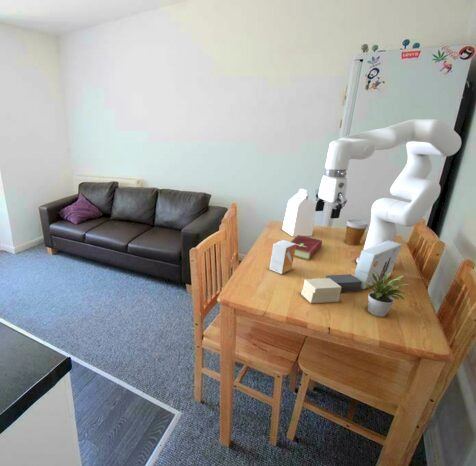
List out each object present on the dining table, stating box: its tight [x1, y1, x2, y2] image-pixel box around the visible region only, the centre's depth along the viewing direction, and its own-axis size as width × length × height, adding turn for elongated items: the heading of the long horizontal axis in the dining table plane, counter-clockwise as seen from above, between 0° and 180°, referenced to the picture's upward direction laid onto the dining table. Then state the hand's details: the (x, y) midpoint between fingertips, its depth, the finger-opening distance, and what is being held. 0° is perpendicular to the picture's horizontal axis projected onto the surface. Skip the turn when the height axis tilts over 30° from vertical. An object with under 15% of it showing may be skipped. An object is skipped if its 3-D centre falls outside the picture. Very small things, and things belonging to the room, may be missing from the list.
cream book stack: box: [300, 284, 341, 304], centre depth 120 cm, size 11×6×4 cm, turn 93°
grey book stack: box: [324, 273, 362, 293], centre depth 126 cm, size 11×6×4 cm, turn 93°
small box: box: [269, 239, 296, 275], centre depth 141 cm, size 8×6×13 cm
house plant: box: [359, 270, 410, 317], centre depth 108 cm, size 14×14×16 cm
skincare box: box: [353, 240, 403, 290], centre depth 128 cm, size 21×6×16 cm, turn 118°
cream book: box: [303, 277, 342, 294], centre depth 119 cm, size 10×7×2 cm
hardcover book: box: [289, 235, 323, 261], centre depth 161 cm, size 12×21×4 cm, turn 135°
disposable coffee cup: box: [344, 219, 369, 246], centre depth 166 cm, size 10×10×12 cm
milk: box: [281, 188, 316, 237], centre depth 180 cm, size 12×12×26 cm
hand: (326, 214), depth 128 cm, fingers open, 9 cm apart
